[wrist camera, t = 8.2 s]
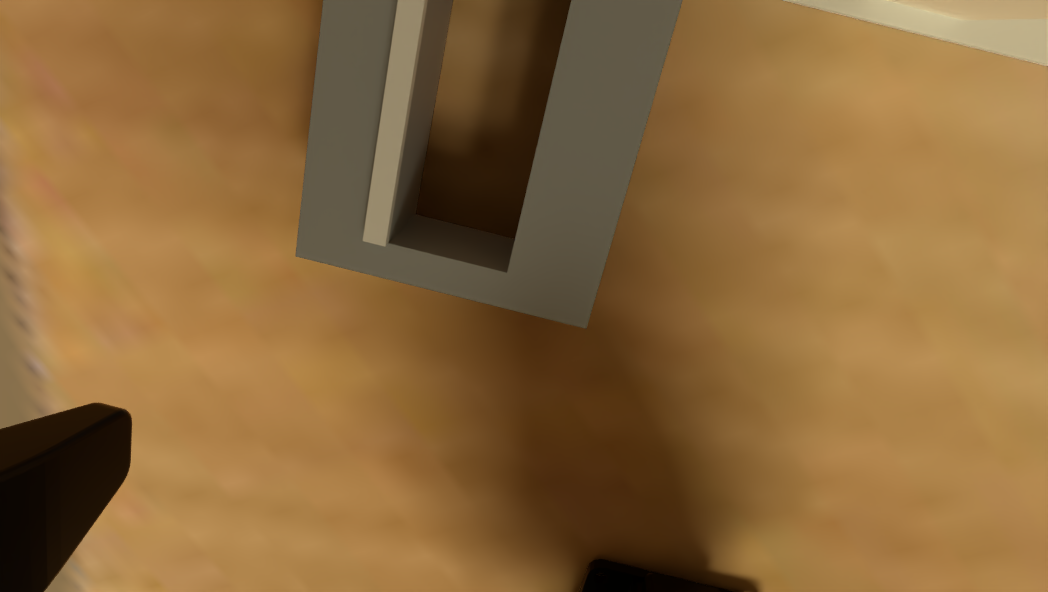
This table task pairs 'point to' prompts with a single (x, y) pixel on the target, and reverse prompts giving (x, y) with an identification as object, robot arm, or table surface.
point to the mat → (949, 27)
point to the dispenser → (402, 138)
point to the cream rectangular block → (982, 8)
